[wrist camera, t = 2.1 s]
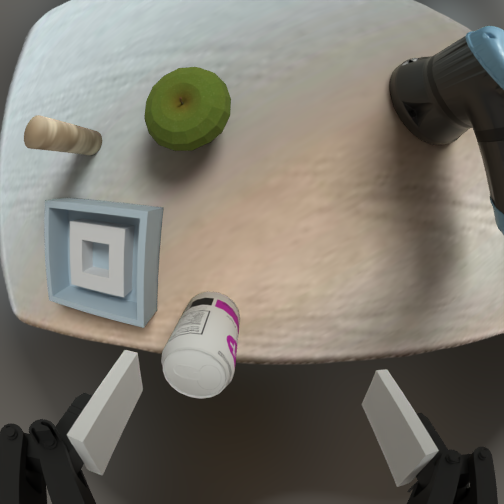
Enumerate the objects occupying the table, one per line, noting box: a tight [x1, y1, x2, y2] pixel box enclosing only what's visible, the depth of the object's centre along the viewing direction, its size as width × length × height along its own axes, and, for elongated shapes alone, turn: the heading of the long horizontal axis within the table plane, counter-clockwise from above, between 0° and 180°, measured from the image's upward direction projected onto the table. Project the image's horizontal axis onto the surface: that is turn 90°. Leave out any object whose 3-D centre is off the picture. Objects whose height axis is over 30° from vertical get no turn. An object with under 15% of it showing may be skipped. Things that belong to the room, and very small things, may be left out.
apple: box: [145, 67, 231, 151], centre depth 29 cm, size 11×10×10 cm
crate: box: [44, 198, 163, 328], centre depth 36 cm, size 16×18×6 cm
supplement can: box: [161, 291, 240, 398], centre depth 33 cm, size 8×8×15 cm
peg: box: [24, 115, 102, 155], centre depth 28 cm, size 4×4×14 cm
